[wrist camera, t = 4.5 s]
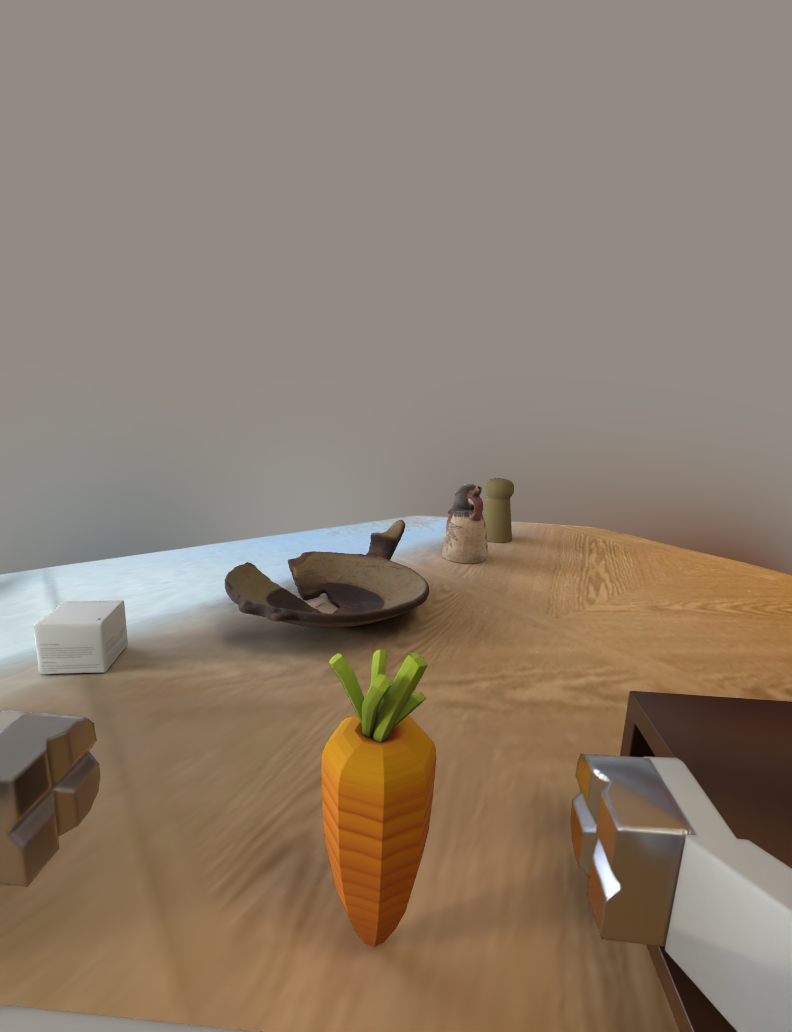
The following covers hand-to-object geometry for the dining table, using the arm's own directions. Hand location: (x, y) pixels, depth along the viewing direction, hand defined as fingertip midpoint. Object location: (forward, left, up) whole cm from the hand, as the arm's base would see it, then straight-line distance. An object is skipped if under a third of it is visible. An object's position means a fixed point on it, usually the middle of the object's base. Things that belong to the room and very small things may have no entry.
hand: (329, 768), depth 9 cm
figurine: (-61, +44, -19) cm, 77 cm away
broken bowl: (-48, +19, -19) cm, 55 cm away
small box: (-46, -8, -19) cm, 50 cm away
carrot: (-11, +6, -19) cm, 23 cm away
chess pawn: (-69, +56, -19) cm, 91 cm away
